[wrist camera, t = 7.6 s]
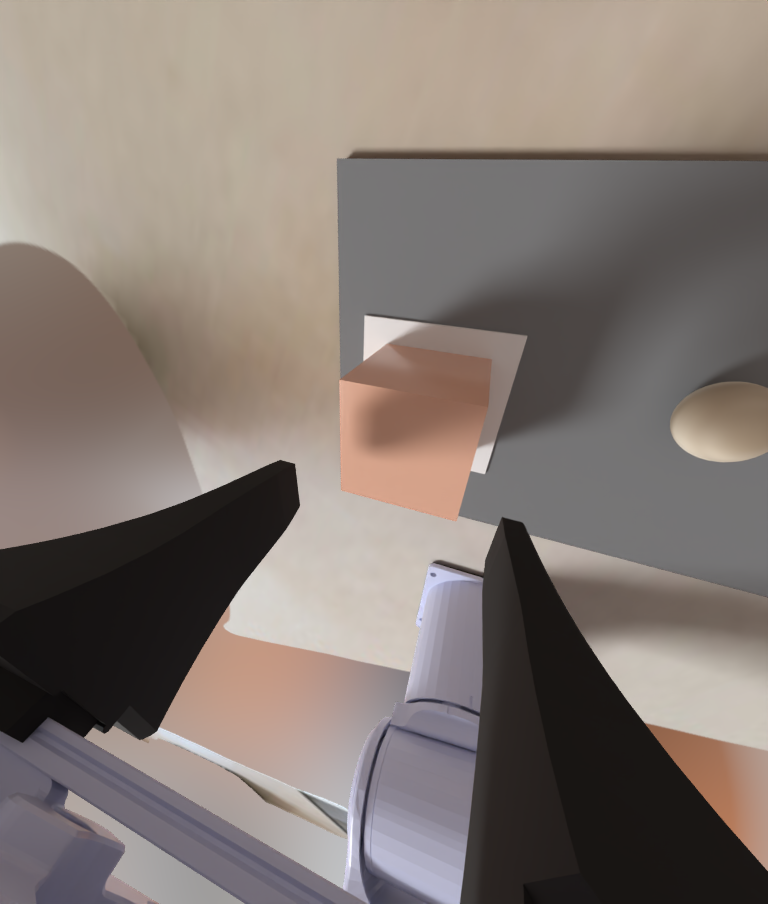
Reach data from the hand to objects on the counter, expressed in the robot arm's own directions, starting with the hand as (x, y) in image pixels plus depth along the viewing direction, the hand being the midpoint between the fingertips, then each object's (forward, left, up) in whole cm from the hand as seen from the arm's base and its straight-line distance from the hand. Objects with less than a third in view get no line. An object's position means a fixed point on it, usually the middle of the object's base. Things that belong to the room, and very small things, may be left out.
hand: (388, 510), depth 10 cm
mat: (+2, -8, -9) cm, 12 cm away
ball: (+3, -12, -9) cm, 15 cm away
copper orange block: (+1, 0, -9) cm, 9 cm away
